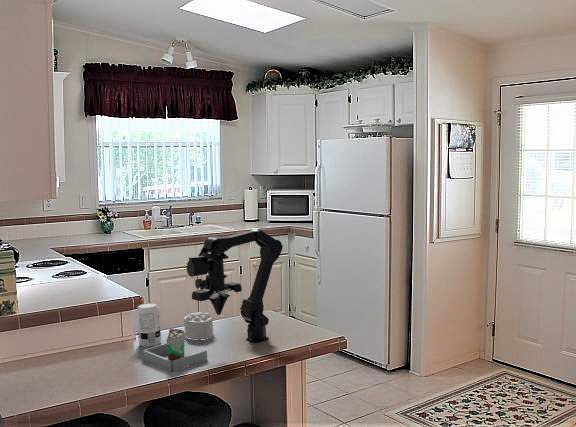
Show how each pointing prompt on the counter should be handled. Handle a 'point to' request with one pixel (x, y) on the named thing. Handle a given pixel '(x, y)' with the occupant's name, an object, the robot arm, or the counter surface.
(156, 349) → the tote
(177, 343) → the food container
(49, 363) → the counter surface
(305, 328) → the counter surface
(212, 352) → the counter surface
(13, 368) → the counter surface
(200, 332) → the lumpy-topped squat cylinder
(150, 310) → the supplement can
